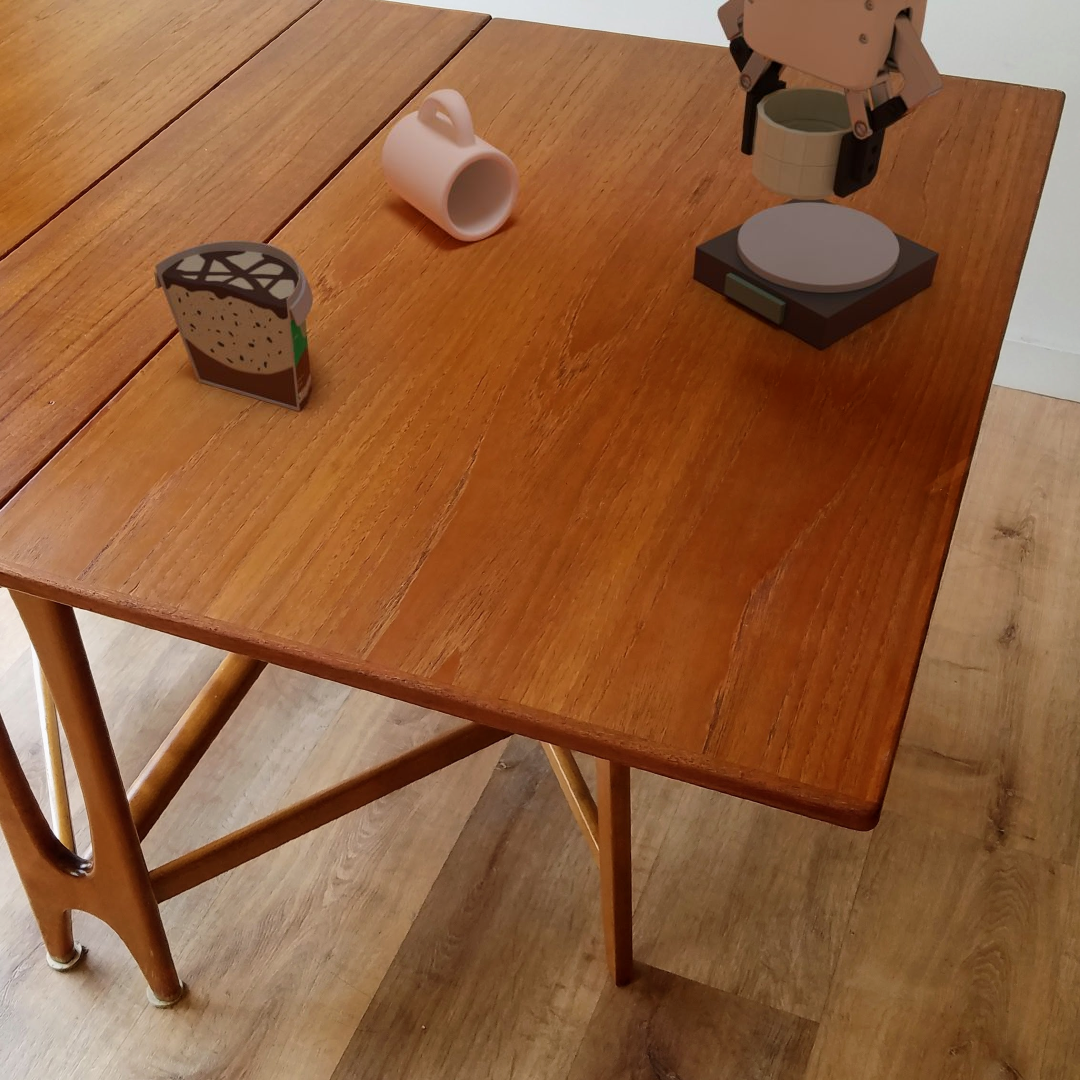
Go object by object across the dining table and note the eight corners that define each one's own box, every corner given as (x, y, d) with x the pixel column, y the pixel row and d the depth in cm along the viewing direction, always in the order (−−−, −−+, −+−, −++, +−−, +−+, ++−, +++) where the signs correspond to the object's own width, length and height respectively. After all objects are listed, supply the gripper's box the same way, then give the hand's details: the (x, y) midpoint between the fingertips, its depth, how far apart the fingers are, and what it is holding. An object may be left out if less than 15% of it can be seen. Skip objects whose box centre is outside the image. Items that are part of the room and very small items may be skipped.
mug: (460, 182, 111) (450, 56, 102) (521, 225, 105) (516, 95, 96) (385, 208, 107) (369, 80, 99) (444, 254, 101) (432, 123, 93)
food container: (360, 371, 89) (341, 257, 82) (317, 416, 85) (293, 301, 78) (229, 335, 93) (201, 223, 86) (182, 377, 89) (148, 263, 82)
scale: (931, 285, 96) (941, 244, 93) (816, 353, 90) (824, 311, 87) (802, 222, 104) (809, 182, 101) (688, 280, 97) (691, 240, 95)
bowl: (879, 179, 74) (892, 110, 71) (809, 215, 71) (821, 145, 68) (797, 143, 78) (806, 77, 74) (727, 176, 75) (734, 108, 71)
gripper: (1037, -126, 58) (954, 197, 71) (774, -188, 68) (743, 107, 80) (948, -93, 55) (878, 241, 67) (685, -163, 64) (666, 141, 77)
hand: (805, 166), depth 74 cm, fingers closed on bowl, 6 cm apart
